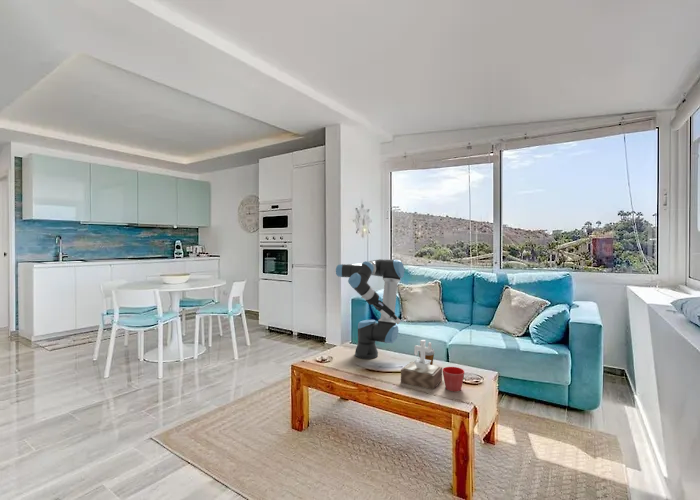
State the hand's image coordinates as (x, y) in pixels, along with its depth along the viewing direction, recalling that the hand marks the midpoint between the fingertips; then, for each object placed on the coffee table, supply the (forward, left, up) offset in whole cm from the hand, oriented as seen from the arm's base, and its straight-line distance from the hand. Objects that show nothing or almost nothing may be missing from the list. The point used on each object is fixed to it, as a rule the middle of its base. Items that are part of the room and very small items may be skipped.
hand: (393, 319), depth 215 cm
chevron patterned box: (+19, -6, -30) cm, 36 cm away
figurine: (+20, -6, -23) cm, 31 cm away
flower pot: (+37, -7, -31) cm, 48 cm away
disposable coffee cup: (+16, +13, -30) cm, 37 cm away
